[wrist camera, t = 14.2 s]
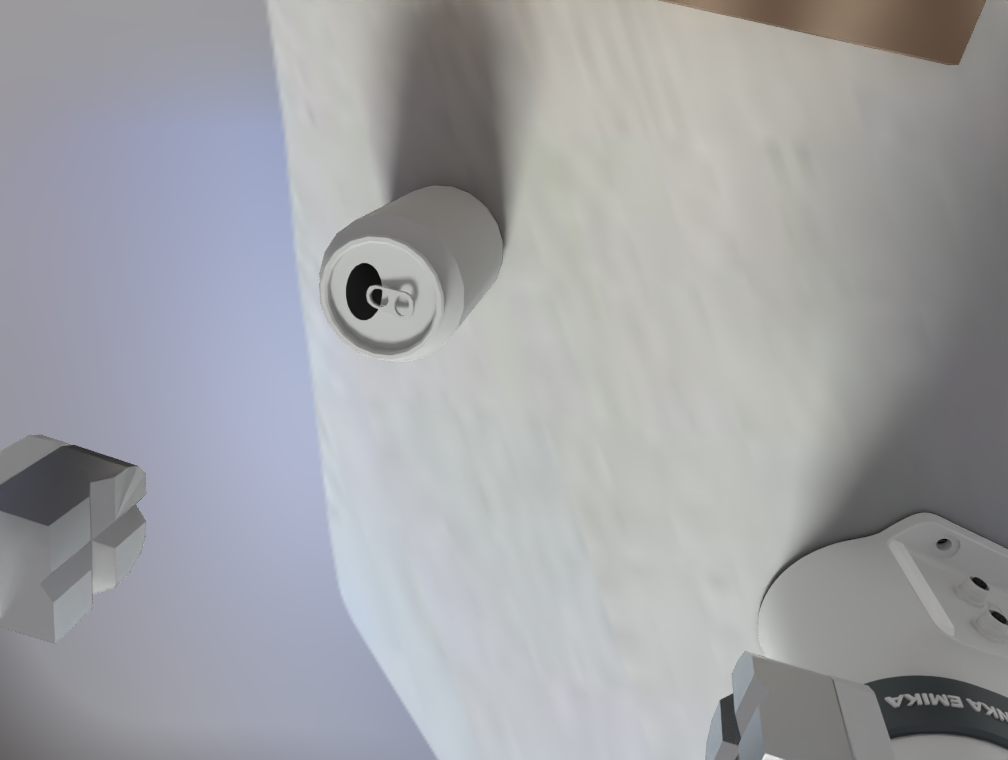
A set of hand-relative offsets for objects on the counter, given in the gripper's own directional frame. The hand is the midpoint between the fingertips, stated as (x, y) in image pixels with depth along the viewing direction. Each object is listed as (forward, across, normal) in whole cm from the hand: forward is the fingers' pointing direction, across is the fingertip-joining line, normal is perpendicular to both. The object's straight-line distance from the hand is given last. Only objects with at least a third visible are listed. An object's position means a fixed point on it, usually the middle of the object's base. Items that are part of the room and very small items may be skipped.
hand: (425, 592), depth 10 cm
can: (+37, -9, -6) cm, 39 cm away
